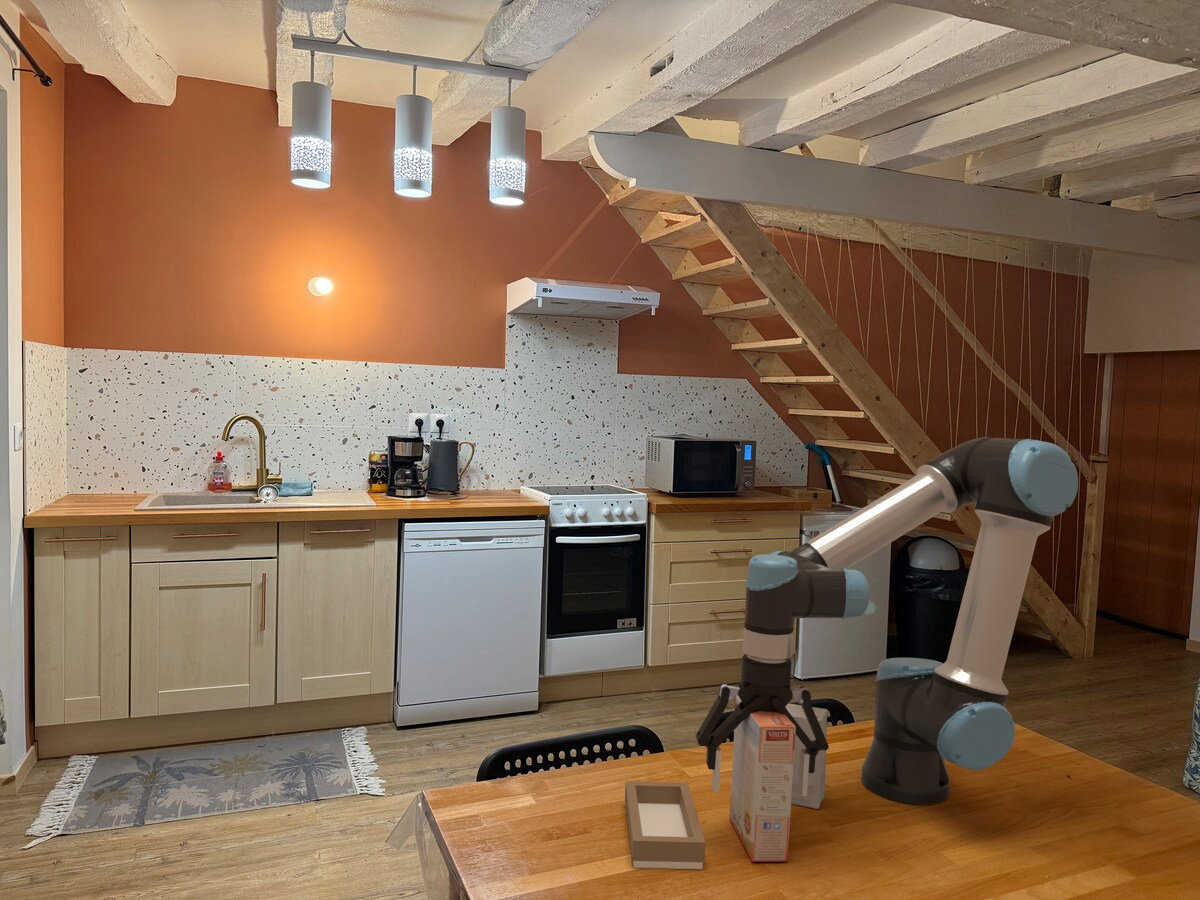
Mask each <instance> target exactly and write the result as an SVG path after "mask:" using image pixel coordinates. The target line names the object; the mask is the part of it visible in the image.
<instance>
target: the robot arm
mask: <svg viewBox="0 0 1200 900" xmlns="http://www.w3.org/2000/svg"><path fill="white" fill-rule="evenodd" d="M1078 487H1079V475H1078V471H1077V468H1076V465H1075V464H1074V463H1073V461H1072V459H1071V456H1070V455H1069V453H1068V452H1067V451H1066V450H1064V449H1063V448H1062V447H1060V446H1059V445H1057V444H1054V443H1051V442H1047V441H1042V440H1038V439H1032V438H1027V439H1026V438H1023V439H1022V438H1009V437H1006V438H1003V437H995V436H993V437H992V436H984V437H978V438H974V439H971V440H967V441H965V442H963V443H960V444H957V445H956V446H954V447H952V448H950V449H948V450H946V451H944V452H943V453H941V454H938V456H935V457H934V458H932V459H930V460H929V461H927V462H926V463H924V464H922V465H921V466H919V467H918V468H917V470H916V476H915V475H914V476H913V477H912V478H910V479H908V480H907V481H905V482H904V483H902V484H900V485H898V486H897V487H895V488H894V489H892V490H890V491H889V492H887V493H886V494H884V495H882V496H881V497H879V498H877V499H875V500H874V501H872V502H871V503H869V504H867V505H865V506H863V507H862V508H861V509H859V510H857V511H856V512H854V513H852V514H851V515H849V516H847V517H846V518H844V519H842V520H841V521H839V522H837V523H836V524H834V525H832V526H831V527H829V528H828V529H826V530H825V531H823V532H821V533H819V534H817V536H815V537H813V538H811V539H809V540H808V541H806V542H805V543H803V544H802V545H800V546H798V547H796V548H794V549H793V550H790V551H788V550H777V551H773V552H772V553H769V554H767V553H766V554H757V555H754V556H752V557H751V558H750V560H749V562H748V567H747V571H746V581H745V609H744V610H745V612H744V613H745V614H744V623H743V625H744V627H743V640H742V641H743V642H742V653H744V654H743V655H742V656H741V669H740V670H741V672H740V673H741V674H740V683H739V685H738V686H732V685H728V684H727V683H726V682H722V683H720V684H719V689H718V695H717V697H716V700H715V701H714V703H713V704H712V706H711V708H710V710H709V711H708V713H707V715H706V717H705V718H704V720H703V722H702V724H700V725H701V726H700V727H699V729H698V731H697V732H696V735H695V738H696V742H697V744H698V746H703V747H705V748H706V761H705V764H706V766H707V768H708V770H712V772H711V773H712V774H711V787H712V791H713V793H714V794H720V784H721V783H720V781H721V768H722V767H721V763H722V752H723V751H722V748H721V747H720V746H721V744H723V742H724V741H725V740H726V739H727V738H728V737H730V735H731V734H732V733H734V730H735V729H736V728H737V726H738V725H739V724H740V723H741V722H742V721H743V720H746V719H747V718H748V717H749V716H750V714H751V713H753V712H757V711H765V712H779V713H780V714H784V715H786V716H787V717H788V719H789V720H790V721H791V722H792V723H793V724H794V725H795V726H796V730H795V734H796V735H797V736H798V738H799V739H800V740H801V742H802V743H803V744H804V746H805V747H806V749H805V748H800V760H799V776H798V790H799V792H800V793H801V795H802V796H807V787H808V773H814V771H815V758H816V755H817V754H818V751H820V750H826V751H827V750H828V749H829V748H830V747H829V743H828V741H827V737H826V738H825V736H824V734H823V731H822V729H821V727H820V724H819V722H818V720H817V717H816V715H815V713H814V710H813V708H812V707H813V705H812V693H811V692H810V691H809V689H808V688H807V687H806V686H805V685H802V686H801V685H800V686H799V688H791V679H792V678H791V677H792V661H791V657H793V647H794V646H793V645H794V644H793V643H794V642H793V641H794V628H795V620H796V619H841V620H844V619H847V618H856V617H860V616H861V617H862V615H864V614H865V613H866V611H867V610H868V608H869V604H870V597H871V590H870V589H871V588H870V585H869V582H868V580H867V578H866V576H865V575H864V574H863V572H861V571H859V570H857V569H850V568H852V567H853V566H855V565H856V564H858V563H859V562H861V561H863V560H864V559H866V558H868V557H869V556H871V555H872V554H875V553H876V552H878V551H879V550H881V549H882V548H885V547H886V546H887V545H889V544H891V543H892V542H894V541H896V540H897V539H899V538H901V537H902V536H904V535H906V534H907V533H909V532H910V531H912V530H913V529H916V528H917V527H919V526H920V525H922V524H923V523H925V522H927V521H928V520H929V519H932V518H933V517H935V516H937V515H938V514H939V513H941V512H942V513H946V514H950V513H953V512H955V511H956V510H958V509H960V508H961V507H965V506H968V505H973V504H975V508H974V512H975V514H976V516H977V517H978V519H979V520H980V523H981V524H980V529H979V533H978V536H977V540H976V544H975V549H974V553H973V556H972V559H971V563H970V564H971V565H970V567H969V571H968V575H967V580H966V585H965V587H964V591H963V594H962V595H963V596H962V599H961V602H960V608H959V611H958V616H957V618H956V622H955V627H954V631H953V635H952V638H951V641H950V642H951V643H950V646H949V650H948V654H947V659H946V661H944V663H943V662H941V661H937V660H934V659H927V658H918V657H890V658H886V659H884V660H882V661H881V662H879V664H878V667H877V671H876V678H875V682H876V686H875V704H874V721H873V723H874V725H873V727H874V728H873V739H872V742H871V745H870V746H869V750H868V752H867V754H866V757H865V758H864V760H863V764H862V766H861V776H860V777H861V784H862V785H864V786H865V788H867V789H868V790H869V791H871V792H872V793H874V794H876V795H878V796H880V797H883V798H886V799H888V800H891V801H897V802H900V803H905V804H913V805H933V804H938V803H941V802H945V801H946V800H947V799H948V798H949V797H950V794H951V793H950V792H951V781H950V779H951V778H950V776H949V772H948V769H947V764H946V761H947V762H948V763H952V764H955V765H957V766H959V767H961V768H963V769H966V770H968V771H969V770H971V771H979V770H980V771H981V770H984V769H985V770H986V769H988V768H990V767H992V766H994V764H995V763H998V762H1000V761H1001V760H1003V758H1004V757H1006V755H1007V754H1008V753H1009V751H1010V749H1011V748H1012V746H1013V744H1014V740H1015V736H1016V723H1015V722H1014V721H1013V716H1012V714H1011V713H1010V712H1009V710H1008V709H1007V708H1006V704H1007V701H1008V696H1009V690H1008V689H1007V686H1006V685H1005V684H1004V682H1003V680H1002V677H1003V674H1004V671H1005V665H1006V663H1007V662H1006V661H1007V658H1008V653H1009V649H1010V646H1011V642H1012V638H1013V634H1014V631H1015V630H1014V629H1015V626H1016V622H1017V618H1018V615H1019V611H1020V607H1021V602H1022V598H1023V594H1024V590H1025V588H1026V587H1025V586H1026V583H1027V579H1028V574H1029V572H1030V569H1031V568H1030V567H1031V563H1032V560H1033V555H1034V552H1035V547H1036V543H1037V539H1038V537H1039V536H1040V535H1042V534H1044V533H1046V532H1048V531H1049V530H1051V527H1052V523H1053V520H1054V517H1055V516H1057V515H1060V514H1062V513H1064V512H1065V511H1066V509H1067V508H1070V507H1071V506H1072V505H1073V503H1074V501H1075V499H1076V496H1077V493H1078V489H1079V488H1078ZM736 696H739V698H740V699H741V702H740V703H739V704H738V705H737V706H736V705H735V709H734V710H733V711H731V713H730V714H729V715H728V716H727V717H726V719H724V721H723V722H721V723H720V725H719V726H718V727H717V728H716V726H717V724H718V723H719V721H720V719H721V717H722V715H723V713H724V712H725V710H726V708H727V707H728V704H729V702H731V701H733V699H734V697H736ZM793 698H794V699H795V701H796V702H797V703H798V705H801V706H802V709H803V711H804V713H805V715H806V718H807V720H808V722H809V725H810V727H811V729H812V732H813V734H814V736H815V739H816V740H813V741H811V740H810V739H809V737H808V736H807V735H806V734H805V732H804V731H803V730H802V728H801V727H800V726H799V724H798V723H797V722H796V720H795V719H794V718H793V717H792V715H791V714H790V713H789V711H788V710H787V709H786V706H787V704H788V703H789V704H790V702H791V701H792V700H793ZM715 728H716V729H715ZM714 729H715V730H714Z"/></svg>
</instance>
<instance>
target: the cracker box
mask: <svg viewBox="0 0 1200 900" xmlns="http://www.w3.org/2000/svg"><path fill="white" fill-rule="evenodd" d="M740 702H741V699H740V698H739V696H738V695H736V696H735V707H736V706H737V705H738V704H739V703H740ZM795 730H796V726H795V725H794V724H793V723H792V722H791V721H790V720H789V719H788V717H787V716H786V715H784V714H780V713H779V712H765V711H757V712H753V713H751V714H750V716H749V717H748V718H747V719H746V720H743V721H742V722H741V723H740V724H739V725H738V726H737V728H736V729H735V730H734V731H733V747H732V748H733V752H732V767H731V768H732V769H731V785H730V805H729V821H730V822H731V825H732V826H733V828H734V830H735V832H736V834H737V835H738V838H739V839H740V842H741V843H742V845H743V847H744V849H745V851H746V853H747V855H748V856H749V859H750V860H751V862H753V863H756V862H757V863H758V862H759V863H765V862H766V863H769V862H770V863H771V862H772V863H773V862H774V863H775V862H777V863H778V862H780V863H781V862H783V863H785V862H788V861H789V859H788V858H789V843H790V827H791V825H790V824H791V812H792V811H791V810H792V804H791V797H792V780H793V762H794V747H795Z"/></svg>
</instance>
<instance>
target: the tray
mask: <svg viewBox="0 0 1200 900" xmlns="http://www.w3.org/2000/svg"><path fill="white" fill-rule="evenodd" d="M624 788H625V789H624V791H625V792H624V802H625V803H624V804H625V811H626V819H627V827H628V828H627V829H628V834H629V835H628V837H629V842H630V843H629V844H630V852H631V860H632V863H633V868H634V869H635V868H636V869H638V868H639V869H675V870H677V869H678V870H679V869H682V870H691V869H692V870H703V863H705V856H706V841H705V837H704V833H703V830H702V826H701V824H700V820H699V817H698V813H697V809H696V805H695V802H694V799H693V796H692V793H691V788H690V785H689V783H688V782H670V781H669V782H667V781H666V782H665V781H635V780H634V781H630V780H629V781H627V780H626V781H625V787H624Z"/></svg>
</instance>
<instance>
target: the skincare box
mask: <svg viewBox="0 0 1200 900" xmlns="http://www.w3.org/2000/svg"><path fill="white" fill-rule="evenodd" d="M812 708H813V710H814V713H815V715H816V717H817V720H818V722H819V724H820V727H821V729H822V731H823V734H824V736H825V738H826V739H827V730H828V729H827V728H828V727H827V726H828V720H827V719H828V709H827V708H821V707H820V708H819V707H814V706H812ZM786 709H787V710H788V711H789V713H790V714H791V715H792V717H793V718H794V719H795V720H796V722H797V723H798V724H799V726H800V727H801V728H802V730H803V731H804V732H805V734H806V735H807V736H808V737H809V739H810V740H811V741H813V740H816V739H815V736H814V734H813V732H812V729H811V727H810V725H809V722H808V720H807V718H806V715H805V713H804V711H803V709H802V706H801V704H794V703H790V702H789V703H788V704H787V706H786ZM800 748H805V749H806V747H805V746H804V744H803V743H802V742H801V740H800V739H799V738H798V736H797V735H796V734H795V747H794V762H793V780H792V797H791V805H796V806H800V807H807V808H811V809H816V810H818V809H819V808H820V806H821V804H822V803H823V800H824V798H825V795H826V776H827V775H826V773H827V772H826V769H827V750H820V751H818V754H817V755H816V758H815V771H814V773H808V787H807V796H802V795H801V793H800V792H799V790H798V776H799V760H800Z"/></svg>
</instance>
